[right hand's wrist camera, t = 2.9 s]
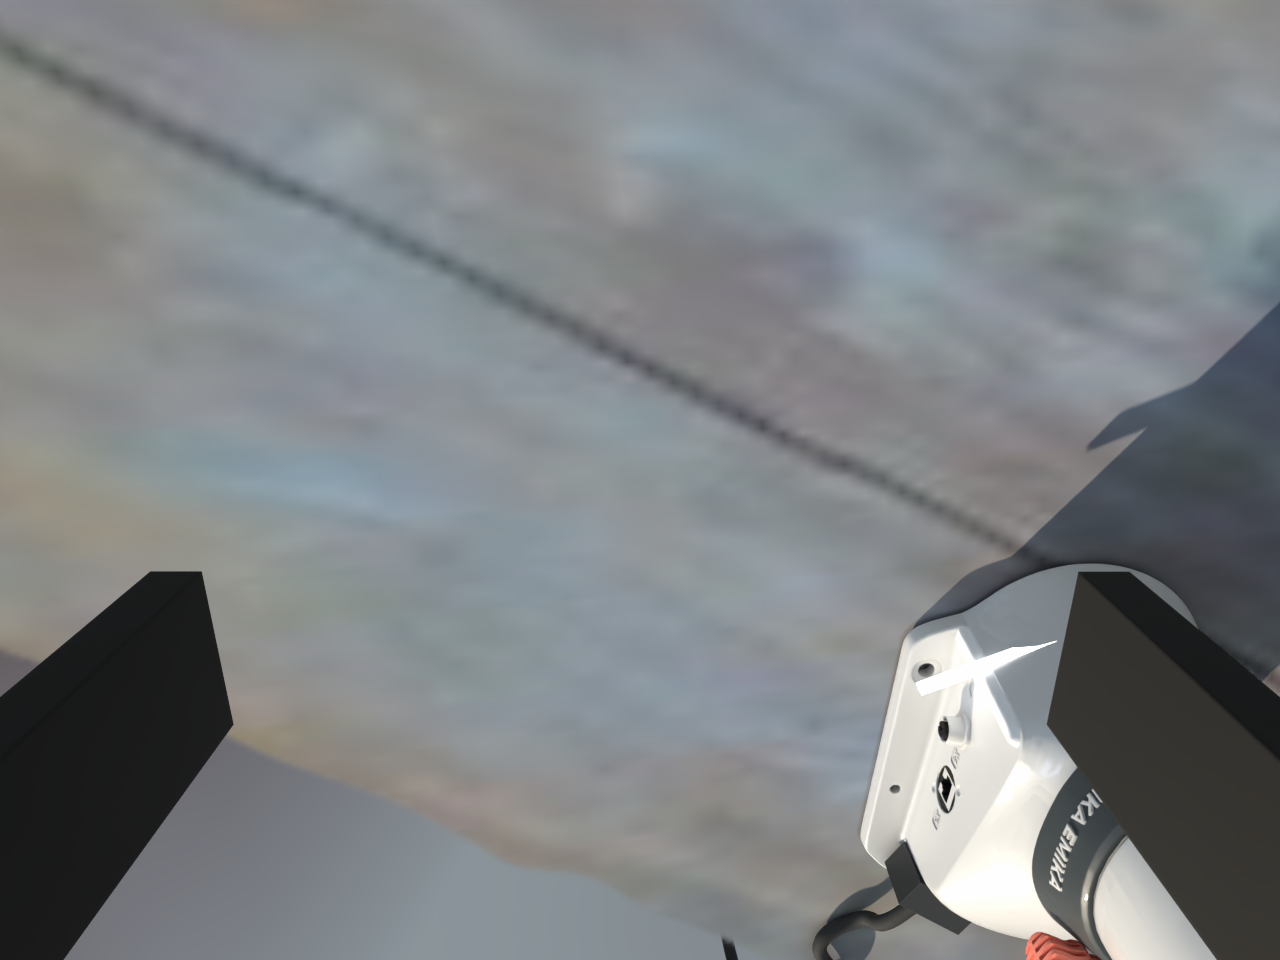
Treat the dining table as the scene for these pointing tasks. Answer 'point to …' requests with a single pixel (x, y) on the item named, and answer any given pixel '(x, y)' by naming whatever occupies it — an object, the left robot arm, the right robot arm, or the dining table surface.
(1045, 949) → the left robot arm
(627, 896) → the dining table surface
